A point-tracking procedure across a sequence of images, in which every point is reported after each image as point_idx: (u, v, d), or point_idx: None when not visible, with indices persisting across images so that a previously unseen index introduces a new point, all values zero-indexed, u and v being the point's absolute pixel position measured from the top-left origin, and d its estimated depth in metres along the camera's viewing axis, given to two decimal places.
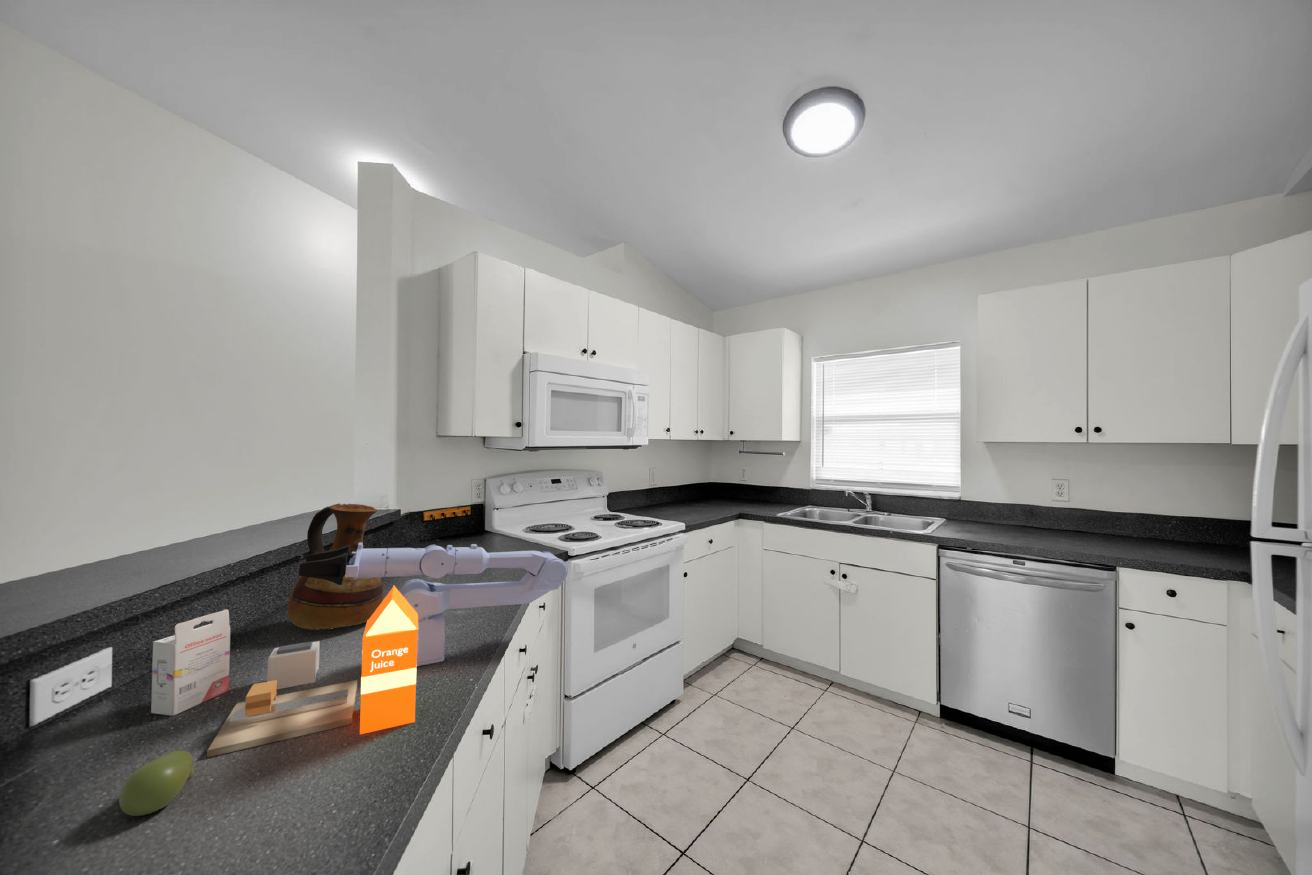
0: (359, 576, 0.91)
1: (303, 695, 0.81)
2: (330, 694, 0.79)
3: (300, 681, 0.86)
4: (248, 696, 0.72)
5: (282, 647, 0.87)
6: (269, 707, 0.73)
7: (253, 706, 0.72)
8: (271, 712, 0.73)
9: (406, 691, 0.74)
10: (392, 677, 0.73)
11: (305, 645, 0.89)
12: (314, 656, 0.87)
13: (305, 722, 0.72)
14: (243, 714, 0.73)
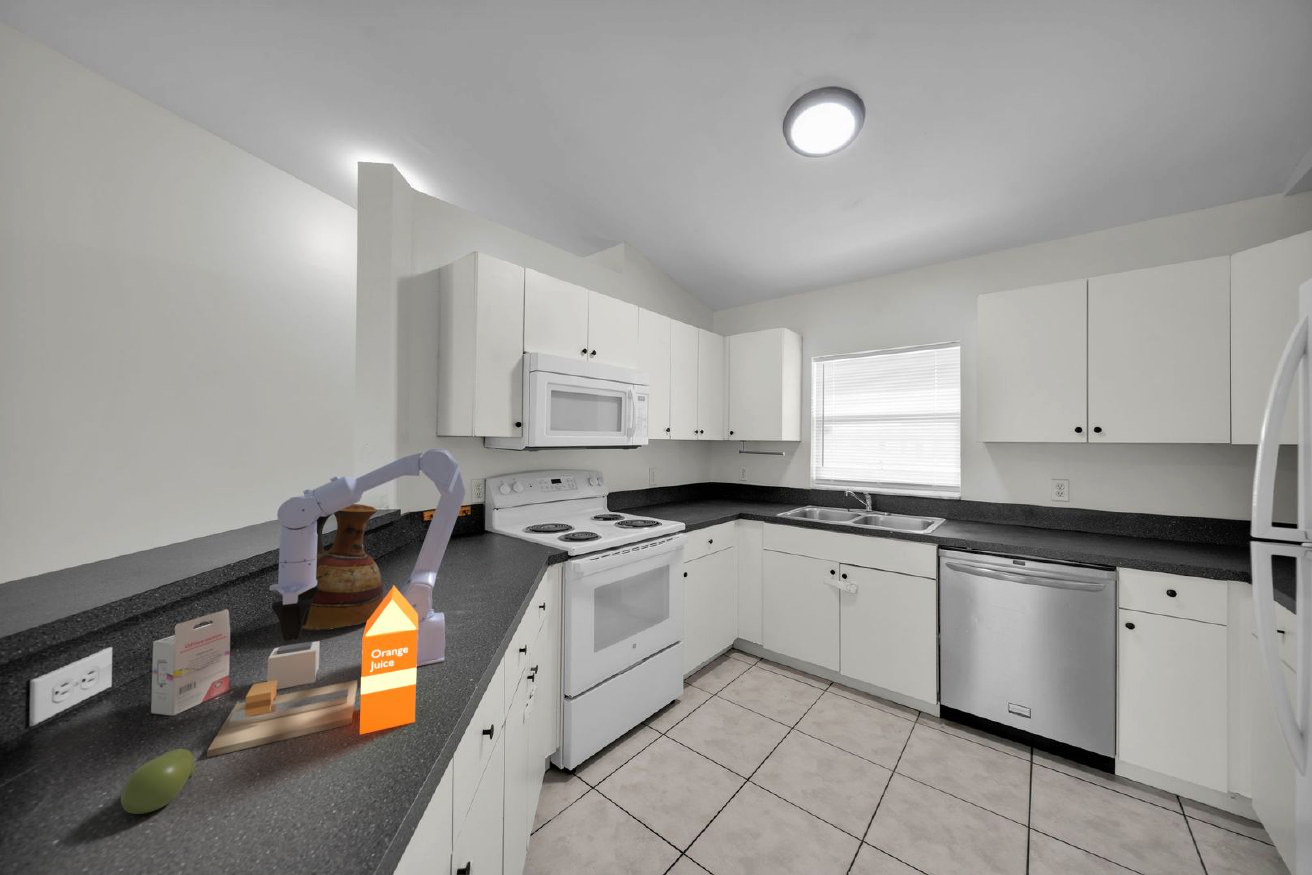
0: (310, 582, 0.88)
1: (303, 695, 0.81)
2: (330, 694, 0.79)
3: (300, 681, 0.86)
4: (248, 696, 0.72)
5: (282, 647, 0.87)
6: (269, 707, 0.73)
7: (253, 706, 0.72)
8: (271, 712, 0.73)
9: (406, 691, 0.74)
10: (392, 677, 0.73)
11: (305, 645, 0.89)
12: (314, 656, 0.87)
13: (305, 722, 0.72)
14: (243, 714, 0.73)
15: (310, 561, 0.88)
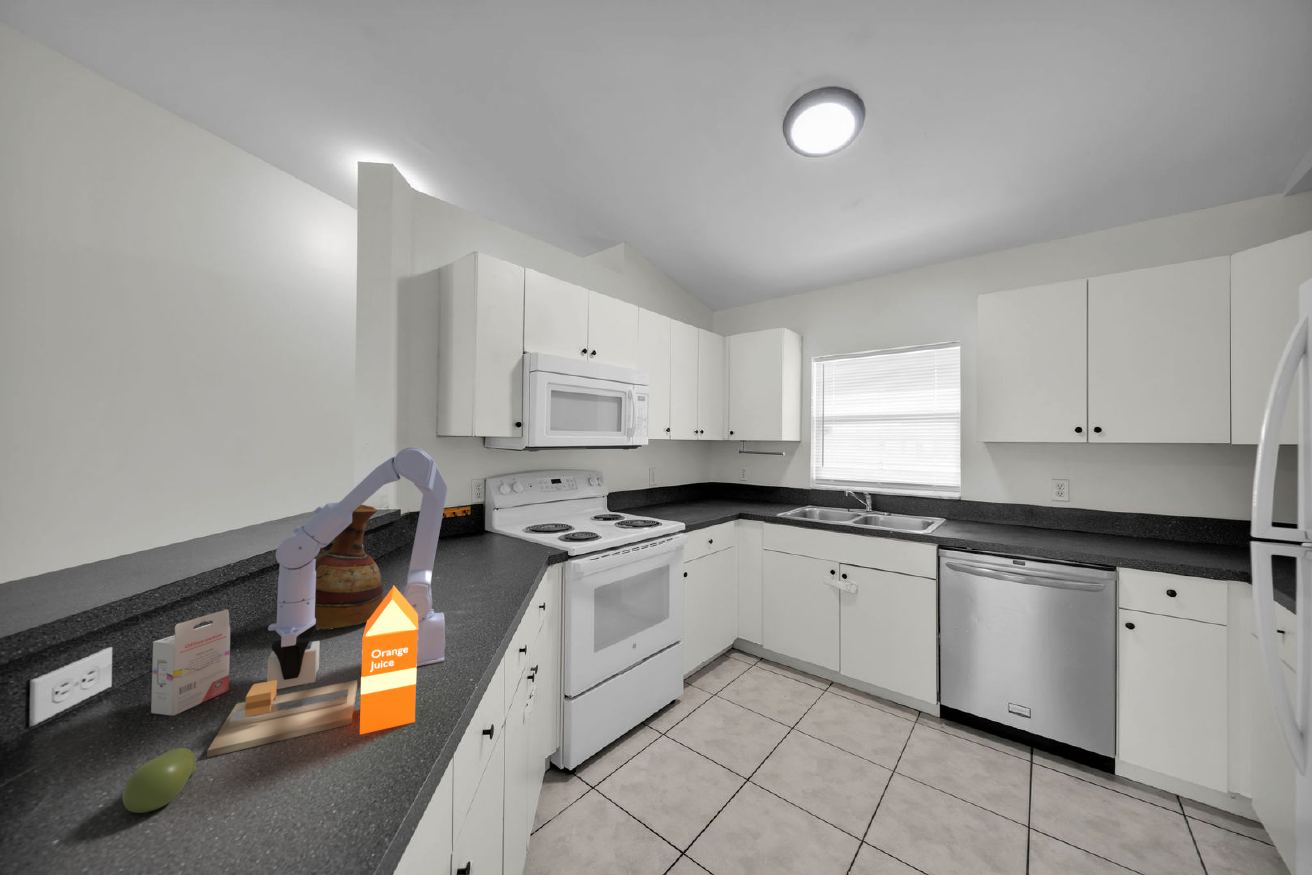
0: (308, 622, 0.88)
1: (303, 695, 0.81)
2: (330, 694, 0.79)
3: (300, 681, 0.86)
4: (248, 696, 0.72)
5: None
6: (269, 707, 0.73)
7: (253, 706, 0.72)
8: (271, 712, 0.73)
9: (406, 691, 0.74)
10: (392, 677, 0.73)
11: None
12: (314, 656, 0.87)
13: (305, 722, 0.72)
14: (243, 714, 0.73)
15: (309, 600, 0.88)
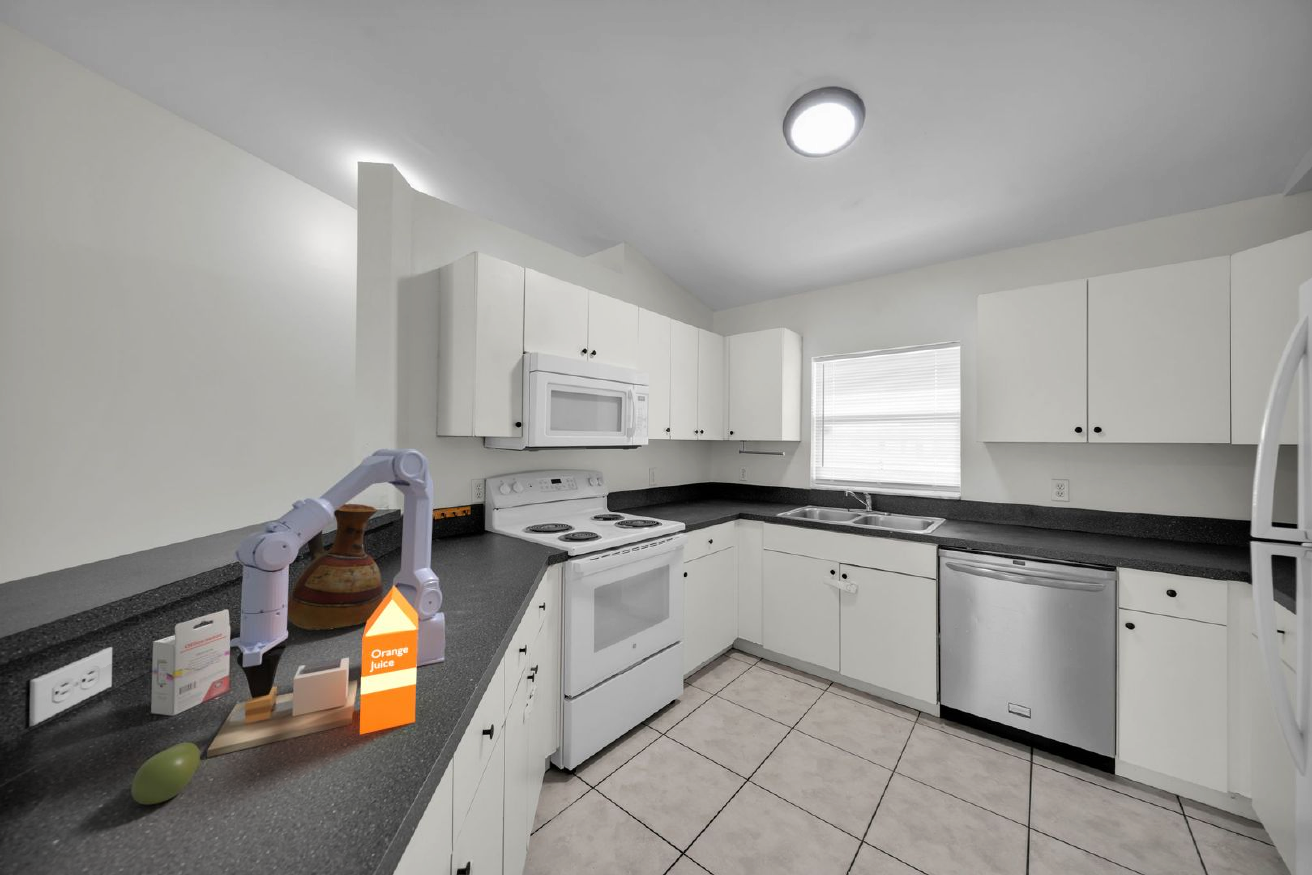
0: (278, 636, 0.74)
1: None
2: None
3: (329, 704, 0.76)
4: (248, 703, 0.72)
5: (308, 665, 0.77)
6: (269, 714, 0.73)
7: (253, 712, 0.72)
8: (271, 712, 0.73)
9: (406, 691, 0.74)
10: (392, 677, 0.73)
11: (334, 662, 0.78)
12: (345, 675, 0.77)
13: (305, 722, 0.72)
14: (243, 714, 0.73)
15: (279, 610, 0.74)
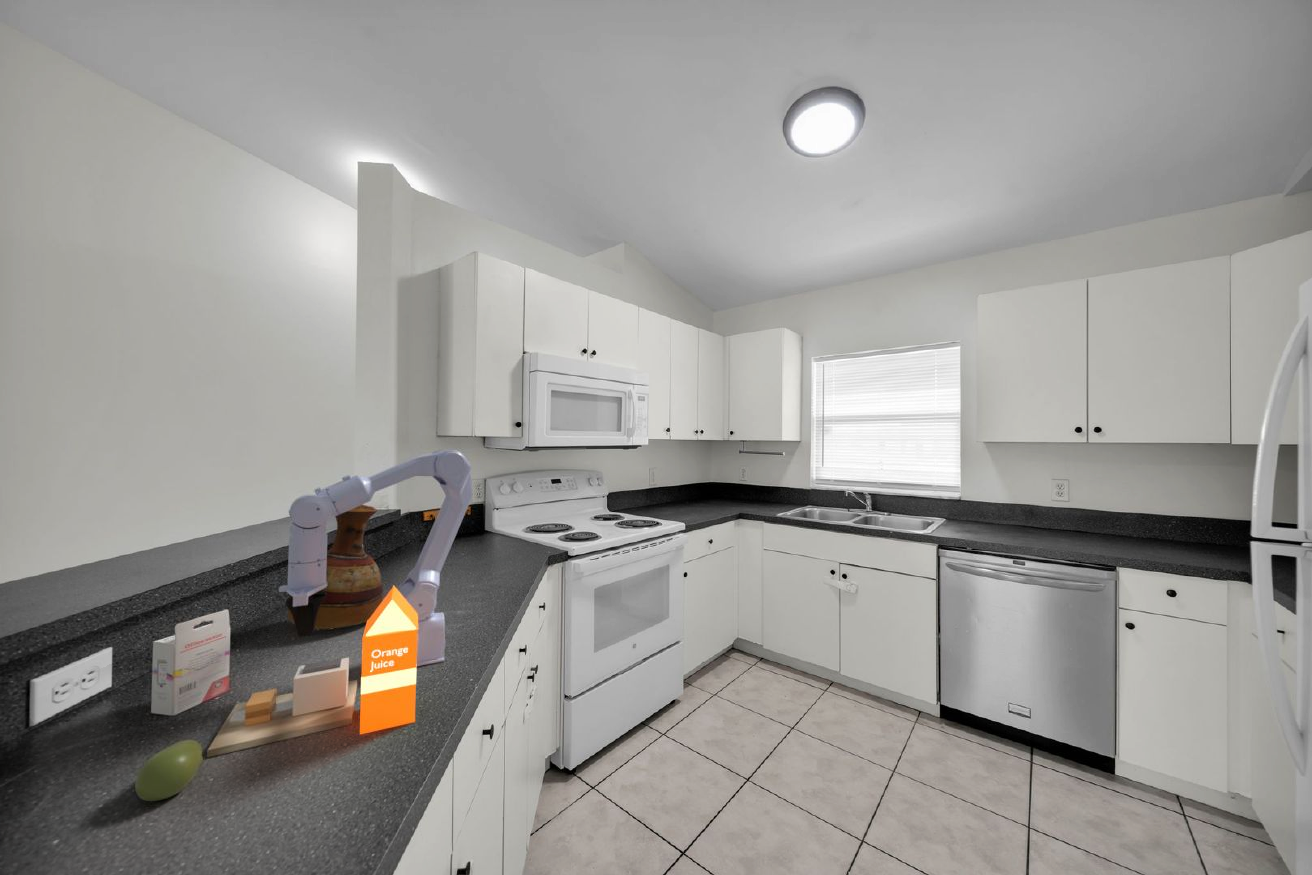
0: (320, 584, 0.85)
1: None
2: None
3: (329, 704, 0.76)
4: (248, 705, 0.71)
5: (308, 665, 0.77)
6: (269, 716, 0.73)
7: (253, 715, 0.72)
8: (271, 712, 0.73)
9: (406, 691, 0.74)
10: (392, 677, 0.73)
11: (334, 662, 0.78)
12: (345, 675, 0.77)
13: (305, 722, 0.72)
14: (243, 714, 0.73)
15: (320, 562, 0.86)
